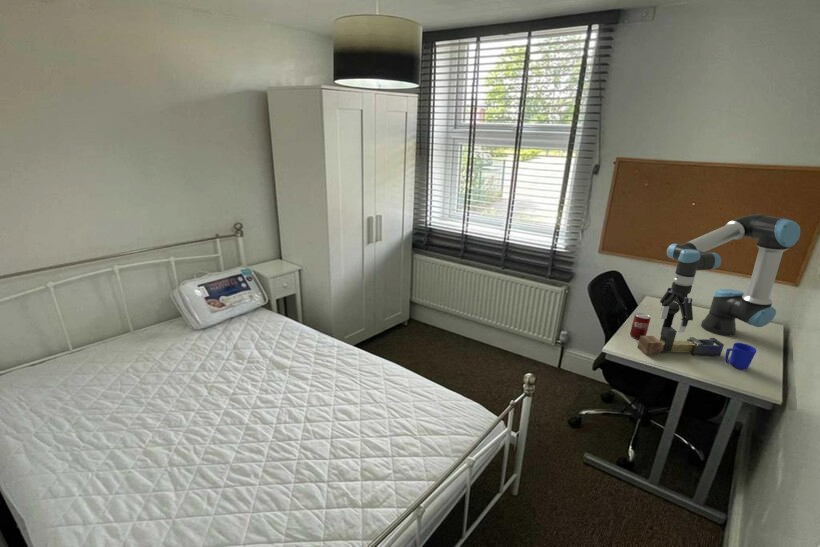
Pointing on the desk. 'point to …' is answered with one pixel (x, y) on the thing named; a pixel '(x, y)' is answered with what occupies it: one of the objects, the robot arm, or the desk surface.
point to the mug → (740, 355)
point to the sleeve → (706, 347)
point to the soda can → (640, 325)
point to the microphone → (670, 314)
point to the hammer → (674, 342)
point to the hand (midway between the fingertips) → (671, 324)
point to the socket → (649, 345)
